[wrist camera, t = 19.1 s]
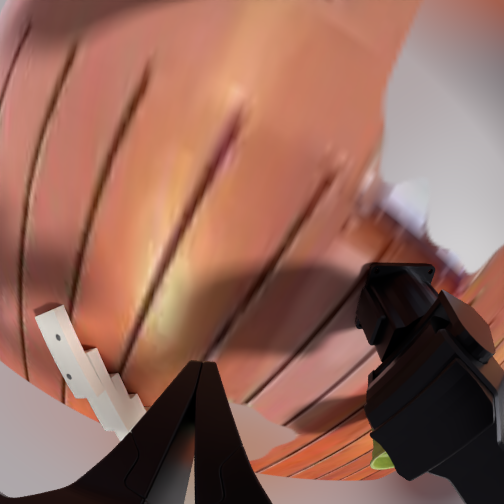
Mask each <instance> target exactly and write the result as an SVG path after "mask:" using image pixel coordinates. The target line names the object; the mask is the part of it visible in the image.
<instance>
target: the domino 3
mask: <svg viewBox="0 0 504 504" xmlns="http://www.w3.org/2000/svg"><path fill="white" fill-rule="evenodd" d="M109 376H110V378H111V380H112V382H113V384H114V386H115V388H116V390H117V392H118V394H119V396H120V398H121V400H122V402H123V404H124V406H125V408H126V409H127V411H128V413H129V415H130V417H131V418H132V420H133V422H134V424H135V425H136V424H137V422H138V421H139V420H140V417H139V415H138V413H137V411H136V409H135V407H134V405H133V403H132V401H131V399H130V397H129V395H128V393H127V391H126V388H125V386H124V384H123V382H122V380H121V377H120V375H119V373H113V374H109ZM135 425H134V426H135ZM134 426H133V427H134ZM133 427H132V428H133ZM132 428H131V429H132ZM131 429H130V430H129V431H115V433H116V435H117V436H118V438H119V440H120V442H121V441H122V440H123V438H124V437H125V436H126V435H127V434H128V433H129V432H131Z"/></svg>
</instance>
